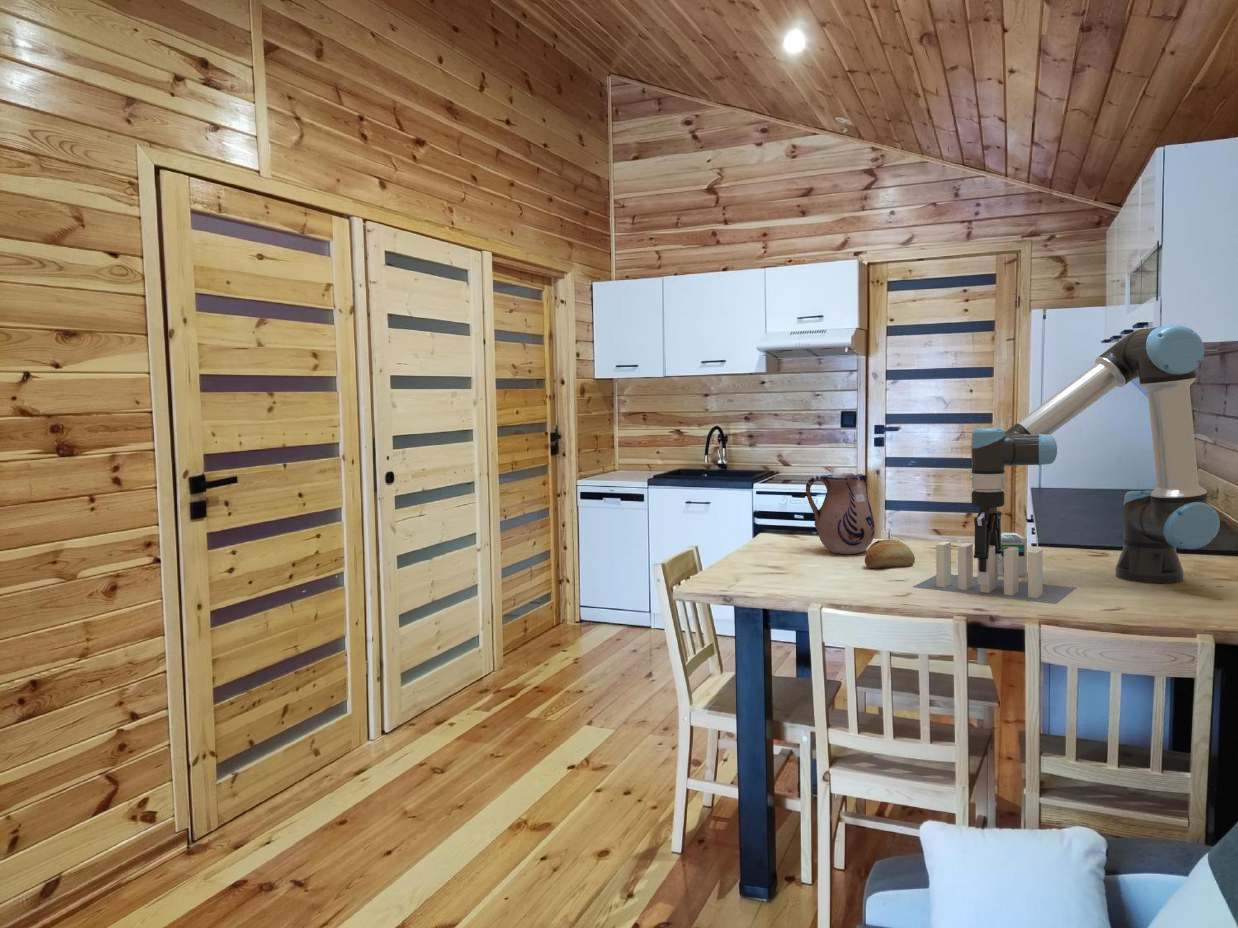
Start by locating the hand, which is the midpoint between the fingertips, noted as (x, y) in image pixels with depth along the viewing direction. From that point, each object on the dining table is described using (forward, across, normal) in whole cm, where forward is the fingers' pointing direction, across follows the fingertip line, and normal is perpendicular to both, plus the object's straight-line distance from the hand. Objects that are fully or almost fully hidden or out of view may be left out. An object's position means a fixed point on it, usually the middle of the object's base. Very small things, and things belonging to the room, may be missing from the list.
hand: (988, 581), depth 213 cm
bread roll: (+3, -18, -33) cm, 38 cm away
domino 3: (+2, 0, 0) cm, 2 cm away
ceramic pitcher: (+3, -32, -55) cm, 64 cm away
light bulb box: (+3, -25, -2) cm, 25 cm away
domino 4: (+2, 0, +6) cm, 6 cm away
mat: (+3, -4, 0) cm, 5 cm away
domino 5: (+2, 0, +11) cm, 11 cm away
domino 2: (+2, 0, -6) cm, 6 cm away
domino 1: (+2, 0, -11) cm, 11 cm away
